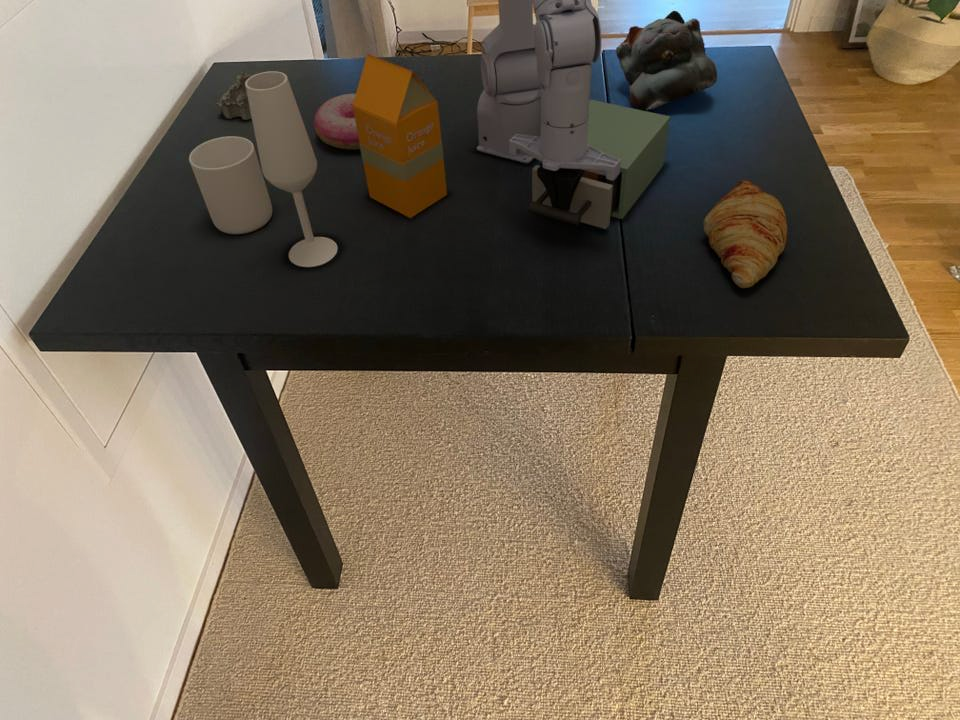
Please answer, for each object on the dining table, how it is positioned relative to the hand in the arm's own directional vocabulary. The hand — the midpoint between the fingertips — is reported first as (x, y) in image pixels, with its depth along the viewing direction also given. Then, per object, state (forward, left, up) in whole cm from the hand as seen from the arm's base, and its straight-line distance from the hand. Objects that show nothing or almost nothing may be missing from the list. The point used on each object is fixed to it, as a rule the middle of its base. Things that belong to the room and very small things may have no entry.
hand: (561, 211), depth 97 cm
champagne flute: (-28, -19, -3) cm, 34 cm away
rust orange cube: (0, +8, -1) cm, 9 cm away
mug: (-43, -16, -3) cm, 46 cm away
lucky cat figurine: (-2, +42, -3) cm, 42 cm away
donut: (-42, +9, -3) cm, 43 cm away
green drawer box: (0, +14, -3) cm, 14 cm away
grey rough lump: (-66, +9, -3) cm, 67 cm away
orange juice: (-24, -2, -3) cm, 24 cm away
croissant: (+22, +8, -3) cm, 24 cm away
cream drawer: (0, +7, -2) cm, 7 cm away
